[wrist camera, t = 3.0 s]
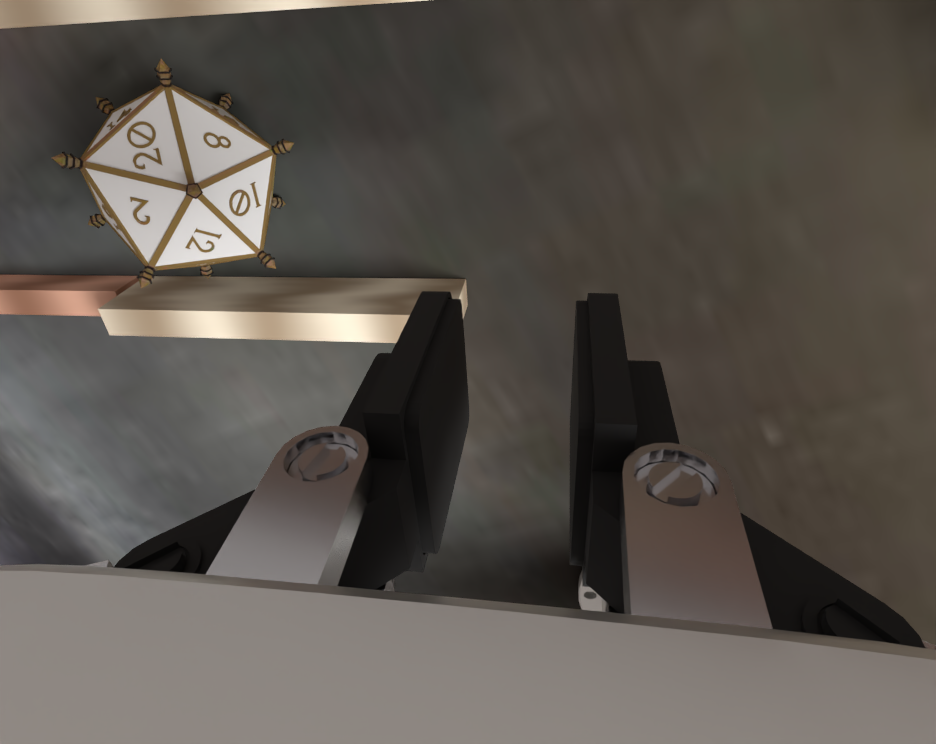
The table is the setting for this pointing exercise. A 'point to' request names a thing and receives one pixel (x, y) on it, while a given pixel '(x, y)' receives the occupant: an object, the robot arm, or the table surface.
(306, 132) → the table surface
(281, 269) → the table surface
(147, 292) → the chute
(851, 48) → the table surface
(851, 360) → the table surface
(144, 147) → the game die
